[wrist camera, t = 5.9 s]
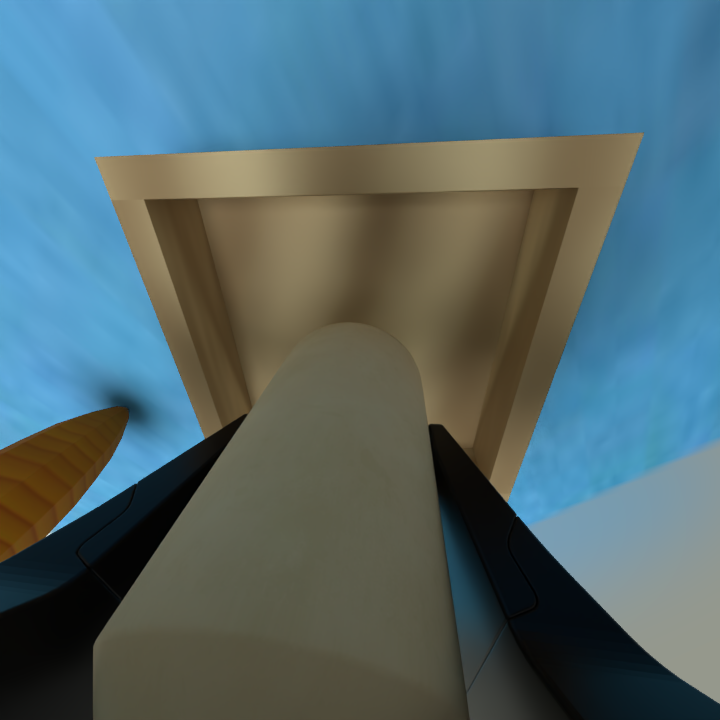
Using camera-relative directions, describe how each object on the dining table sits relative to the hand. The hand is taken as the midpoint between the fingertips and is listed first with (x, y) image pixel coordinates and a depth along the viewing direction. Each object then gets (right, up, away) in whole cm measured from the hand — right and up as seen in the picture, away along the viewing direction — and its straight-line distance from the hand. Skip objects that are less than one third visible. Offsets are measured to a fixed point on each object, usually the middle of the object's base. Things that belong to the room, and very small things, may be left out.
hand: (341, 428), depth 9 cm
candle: (0, +1, +2) cm, 3 cm away
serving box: (+1, +3, +6) cm, 7 cm away
